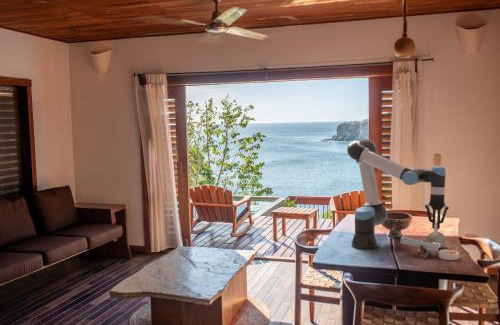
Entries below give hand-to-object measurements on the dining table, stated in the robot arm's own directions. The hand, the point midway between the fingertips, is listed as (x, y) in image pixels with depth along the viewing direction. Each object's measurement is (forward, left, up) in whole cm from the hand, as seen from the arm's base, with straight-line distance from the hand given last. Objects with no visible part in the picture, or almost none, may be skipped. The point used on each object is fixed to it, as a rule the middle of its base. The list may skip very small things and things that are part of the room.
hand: (435, 234), depth 264 cm
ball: (+10, -8, -8) cm, 15 cm away
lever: (-8, -5, -6) cm, 11 cm away
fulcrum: (-6, -8, -11) cm, 14 cm away
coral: (-2, +12, -11) cm, 17 cm away
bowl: (+8, -8, -11) cm, 15 cm away
